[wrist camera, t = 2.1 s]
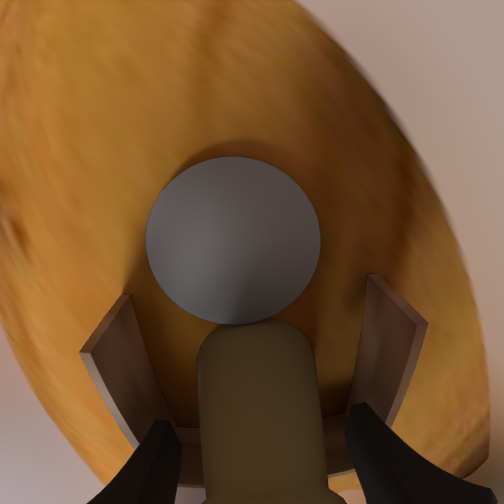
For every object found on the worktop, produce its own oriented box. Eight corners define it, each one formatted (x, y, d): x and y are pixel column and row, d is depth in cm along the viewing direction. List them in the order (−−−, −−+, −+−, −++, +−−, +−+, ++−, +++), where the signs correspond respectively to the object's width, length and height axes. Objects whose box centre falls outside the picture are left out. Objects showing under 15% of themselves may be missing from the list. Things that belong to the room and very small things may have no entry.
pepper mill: (256, 415, 15) (270, 582, 5) (174, 365, 14) (131, 568, 3) (336, 359, 14) (410, 546, 3) (255, 292, 12) (290, 576, 2)
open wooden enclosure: (351, 415, 16) (370, 467, 11) (172, 430, 15) (162, 485, 11) (376, 273, 12) (428, 322, 8) (120, 295, 12) (78, 352, 8)
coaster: (316, 309, 13) (319, 316, 12) (166, 321, 13) (163, 328, 12) (313, 152, 11) (317, 151, 10) (139, 168, 10) (134, 169, 10)
